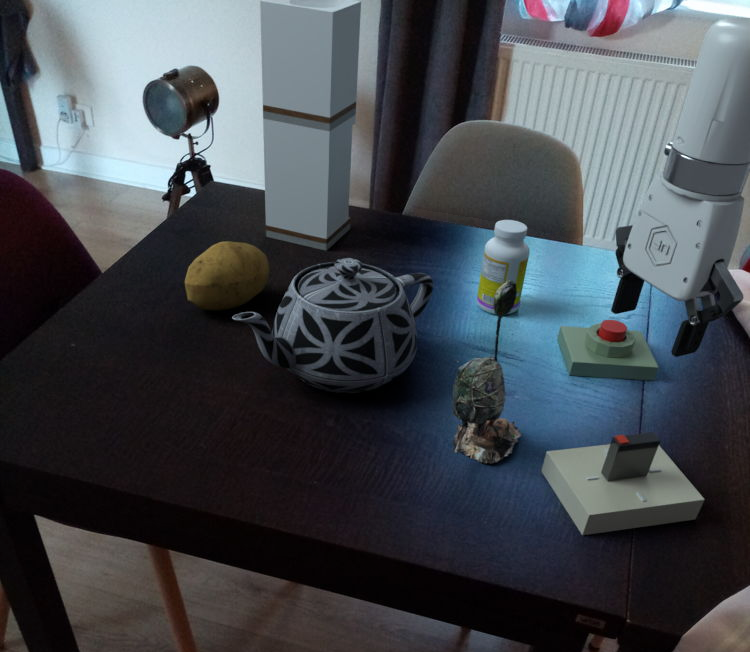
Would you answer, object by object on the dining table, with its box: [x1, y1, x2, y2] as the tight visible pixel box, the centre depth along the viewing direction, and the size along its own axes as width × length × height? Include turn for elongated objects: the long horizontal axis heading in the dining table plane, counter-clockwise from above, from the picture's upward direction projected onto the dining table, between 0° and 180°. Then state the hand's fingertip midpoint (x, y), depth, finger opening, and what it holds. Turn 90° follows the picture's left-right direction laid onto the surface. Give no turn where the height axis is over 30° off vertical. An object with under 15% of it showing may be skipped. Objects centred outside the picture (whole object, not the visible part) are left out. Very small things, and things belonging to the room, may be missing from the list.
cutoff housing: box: [556, 322, 659, 382], centre depth 111 cm, size 12×10×4 cm
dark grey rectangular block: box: [601, 431, 661, 481], centre depth 86 cm, size 5×2×5 cm, turn 105°
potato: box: [184, 240, 270, 312], centre depth 114 cm, size 10×13×9 cm
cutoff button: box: [598, 319, 628, 343], centre depth 109 cm, size 4×4×2 cm
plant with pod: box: [451, 280, 522, 464], centre depth 88 cm, size 8×11×20 cm
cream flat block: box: [541, 443, 705, 536], centre depth 88 cm, size 14×11×3 cm
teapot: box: [231, 257, 434, 394], centre depth 100 cm, size 19×31×15 cm, turn 127°
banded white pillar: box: [259, 0, 362, 252], centre depth 127 cm, size 11×11×35 cm
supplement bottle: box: [476, 219, 530, 315], centre depth 118 cm, size 7×7×13 cm
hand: (652, 331), depth 86 cm, fingers open, 9 cm apart
